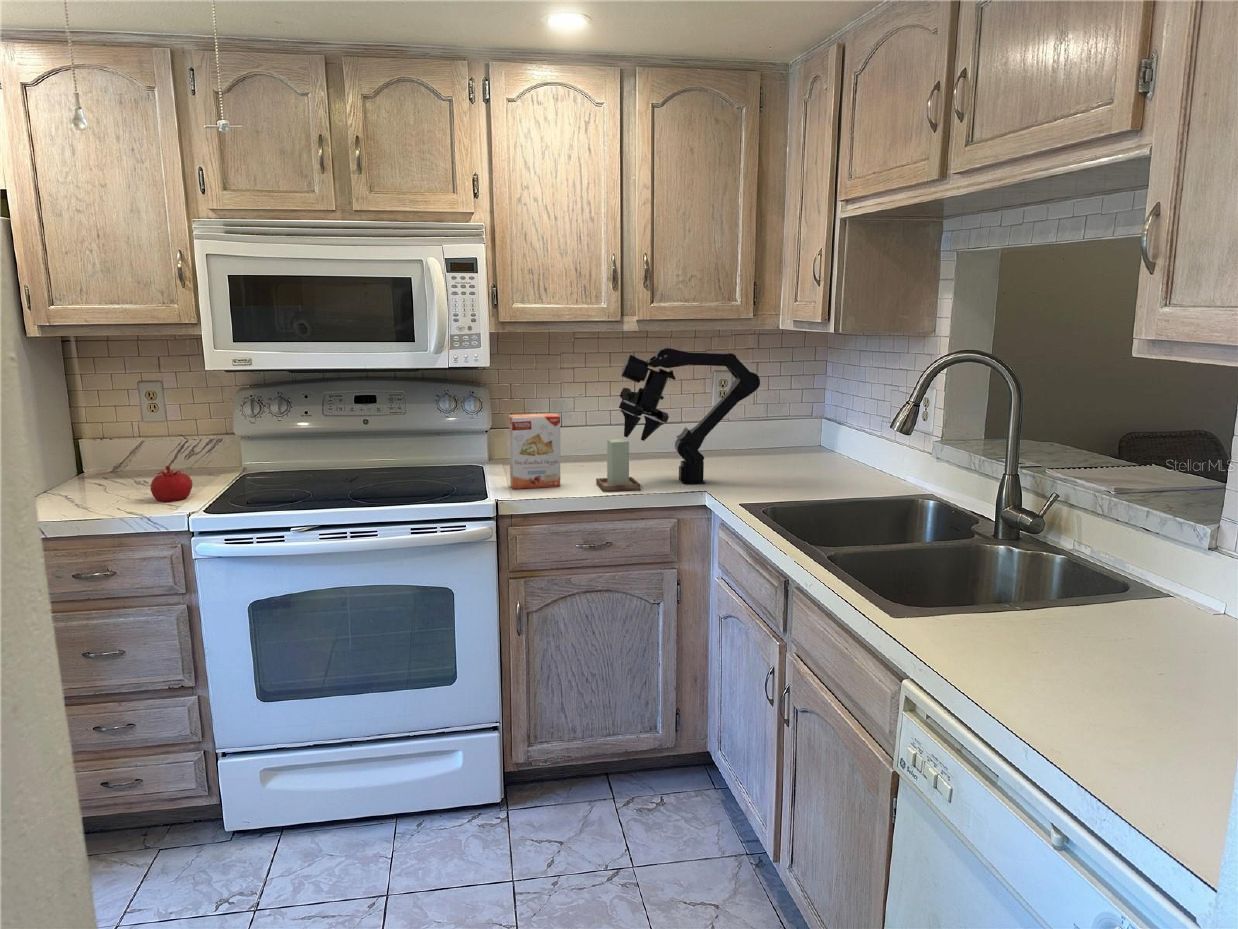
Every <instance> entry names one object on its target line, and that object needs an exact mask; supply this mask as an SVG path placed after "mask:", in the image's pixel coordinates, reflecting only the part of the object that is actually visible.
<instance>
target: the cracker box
mask: <svg viewBox="0 0 1238 929" xmlns="http://www.w3.org/2000/svg"><path fill="white" fill-rule="evenodd" d="M508 417H509V418H508V420H509V426H508V427H509V428H508V429H509V475H510V476H509V478H510V482H509V483H510V486H511V488H512V489H513V490H515V489H516V490H521V489H538V488H556V487H557V488H558V487H560V488H561V416H560V415H559V414H557V413H541V414H540V413H535V414H533V413H531V414H529V413H528V414H509V416H508Z"/></svg>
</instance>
